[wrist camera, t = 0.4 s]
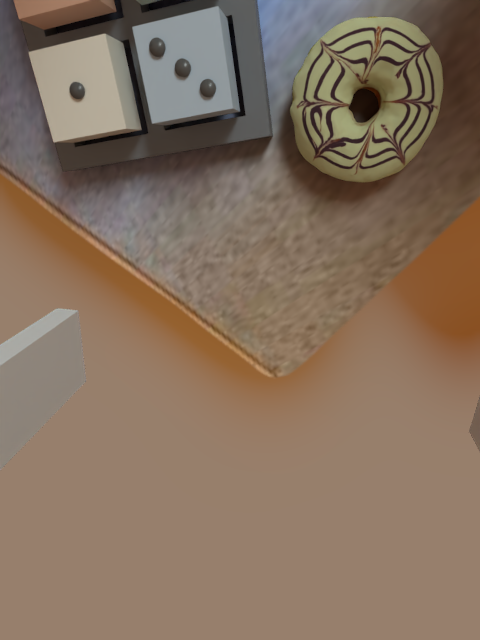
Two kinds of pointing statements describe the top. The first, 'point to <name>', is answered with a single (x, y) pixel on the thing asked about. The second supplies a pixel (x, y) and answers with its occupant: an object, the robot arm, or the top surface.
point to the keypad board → (160, 139)
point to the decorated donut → (377, 76)
